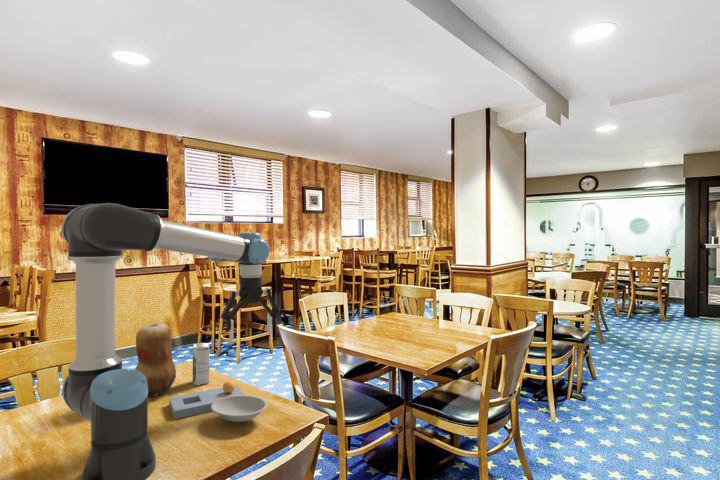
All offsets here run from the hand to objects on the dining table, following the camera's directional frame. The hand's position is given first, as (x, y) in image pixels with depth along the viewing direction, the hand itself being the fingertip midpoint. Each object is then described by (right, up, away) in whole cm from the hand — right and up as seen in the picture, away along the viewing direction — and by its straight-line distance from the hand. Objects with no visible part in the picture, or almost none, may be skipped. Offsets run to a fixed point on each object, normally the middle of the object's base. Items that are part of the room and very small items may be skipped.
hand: (251, 336), depth 144 cm
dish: (+2, -22, -19) cm, 29 cm away
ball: (-7, -16, -4) cm, 18 cm away
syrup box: (-22, -21, +12) cm, 33 cm away
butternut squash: (-34, -21, +1) cm, 40 cm away
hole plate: (-12, -21, -7) cm, 26 cm away
